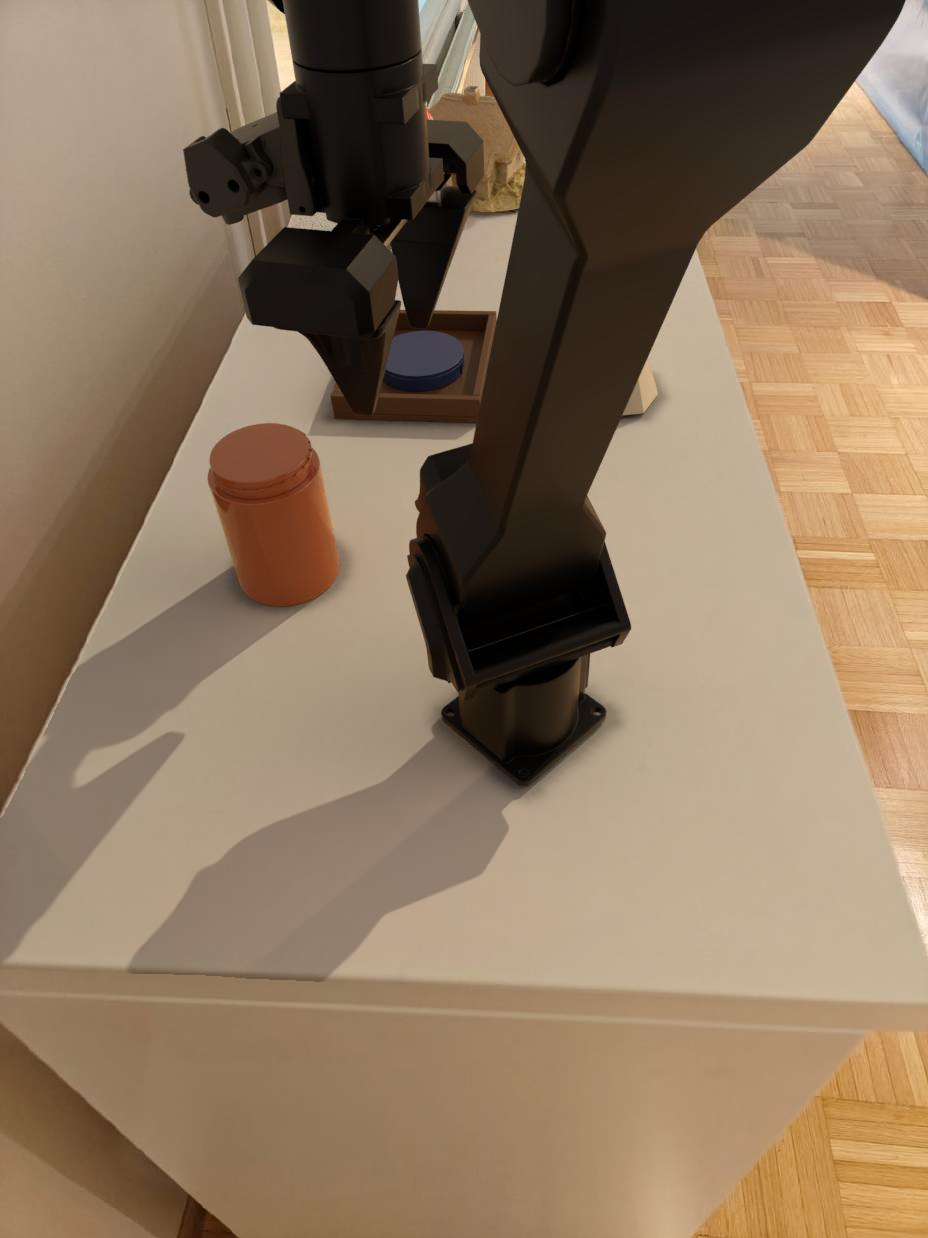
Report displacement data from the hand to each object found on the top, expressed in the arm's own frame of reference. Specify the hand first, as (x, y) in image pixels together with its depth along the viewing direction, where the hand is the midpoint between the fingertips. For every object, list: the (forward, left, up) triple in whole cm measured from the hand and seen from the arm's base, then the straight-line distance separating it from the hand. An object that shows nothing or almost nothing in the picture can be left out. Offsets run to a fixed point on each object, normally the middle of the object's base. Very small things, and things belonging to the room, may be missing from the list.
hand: (393, 367), depth 51 cm
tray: (+13, +14, -12) cm, 23 cm away
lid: (+13, +14, -10) cm, 22 cm away
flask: (+21, +1, -12) cm, 24 cm away
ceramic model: (+41, +37, -12) cm, 57 cm away
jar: (-8, +3, -12) cm, 15 cm away
